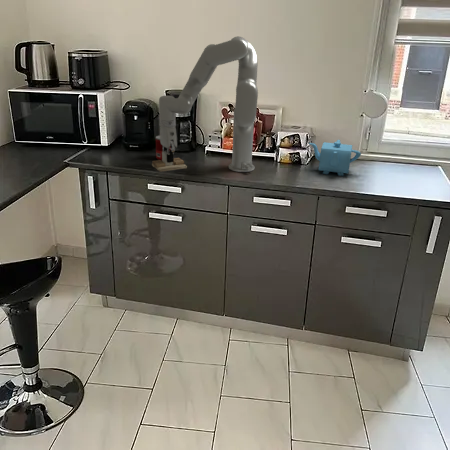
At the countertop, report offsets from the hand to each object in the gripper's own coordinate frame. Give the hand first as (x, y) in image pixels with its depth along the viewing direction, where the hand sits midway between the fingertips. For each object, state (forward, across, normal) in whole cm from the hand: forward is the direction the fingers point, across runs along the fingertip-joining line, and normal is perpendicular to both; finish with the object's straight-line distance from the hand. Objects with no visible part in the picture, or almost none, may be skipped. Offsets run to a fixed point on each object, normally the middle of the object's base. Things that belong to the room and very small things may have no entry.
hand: (168, 160), depth 235 cm
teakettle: (+3, -40, -69) cm, 80 cm away
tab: (+2, 0, 0) cm, 2 cm away
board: (+3, -2, 0) cm, 3 cm away
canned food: (+3, +12, -3) cm, 13 cm away
